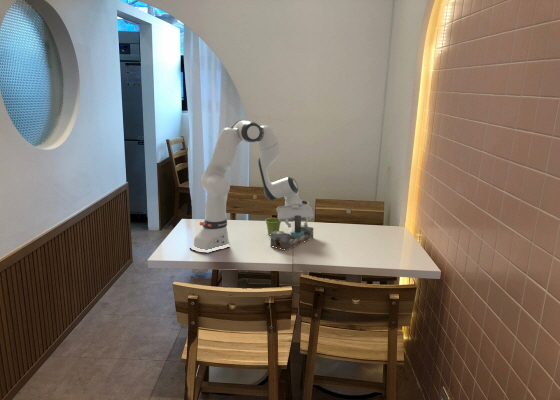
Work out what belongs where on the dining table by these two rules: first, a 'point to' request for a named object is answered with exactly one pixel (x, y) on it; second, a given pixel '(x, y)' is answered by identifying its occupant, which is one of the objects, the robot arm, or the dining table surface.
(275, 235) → the grey long blocky piece
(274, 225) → the plant pot
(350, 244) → the dining table surface
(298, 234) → the carriage
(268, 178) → the robot arm
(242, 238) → the dining table surface
